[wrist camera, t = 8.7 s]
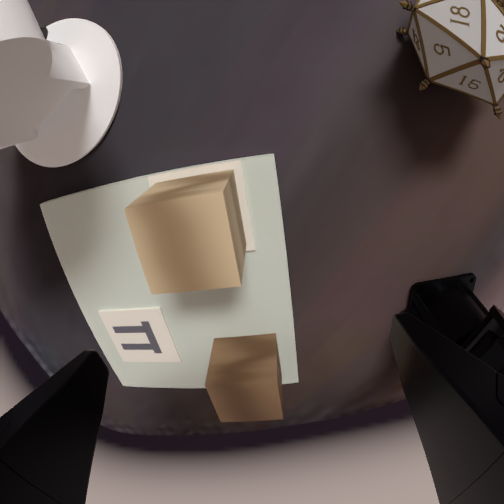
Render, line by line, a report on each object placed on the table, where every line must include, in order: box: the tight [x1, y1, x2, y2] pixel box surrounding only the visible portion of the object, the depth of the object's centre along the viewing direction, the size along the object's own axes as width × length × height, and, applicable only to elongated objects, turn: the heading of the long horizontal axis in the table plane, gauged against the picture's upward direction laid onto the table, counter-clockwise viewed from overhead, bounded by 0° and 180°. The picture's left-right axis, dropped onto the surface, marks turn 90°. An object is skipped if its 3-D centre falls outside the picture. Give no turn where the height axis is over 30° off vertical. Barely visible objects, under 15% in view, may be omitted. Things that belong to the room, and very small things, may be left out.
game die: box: [397, 0, 504, 120], centre depth 11 cm, size 9×8×10 cm
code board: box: [40, 153, 298, 388], centre depth 23 cm, size 18×20×1 cm
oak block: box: [124, 169, 246, 294], centre depth 17 cm, size 5×5×5 cm
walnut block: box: [205, 333, 283, 422], centre depth 23 cm, size 5×5×5 cm
